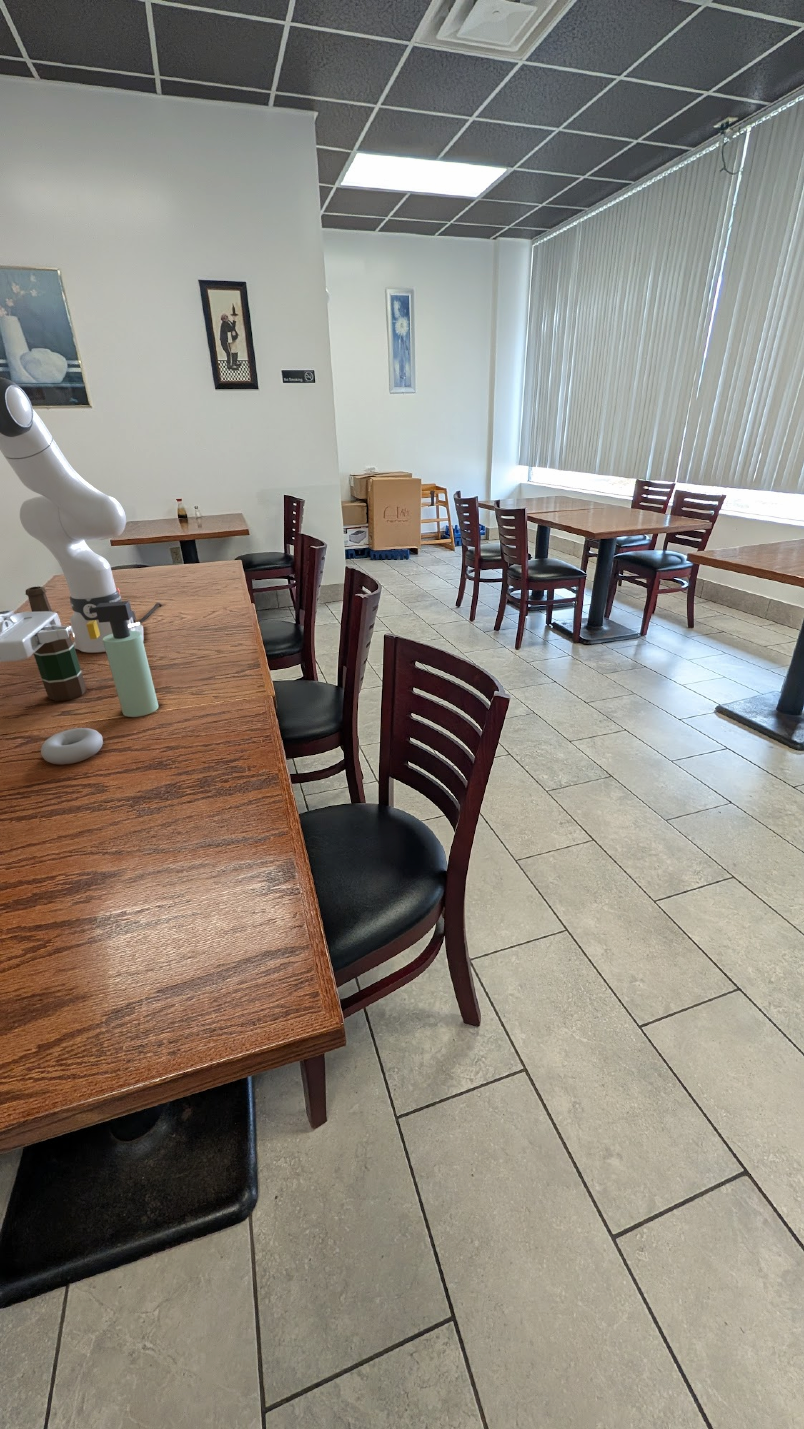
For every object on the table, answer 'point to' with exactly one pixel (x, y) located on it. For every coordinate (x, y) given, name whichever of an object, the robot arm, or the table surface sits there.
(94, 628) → the block
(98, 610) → the spray bottle
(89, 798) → the table surface
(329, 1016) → the table surface
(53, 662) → the beer bottle
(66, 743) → the donut
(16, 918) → the table surface
